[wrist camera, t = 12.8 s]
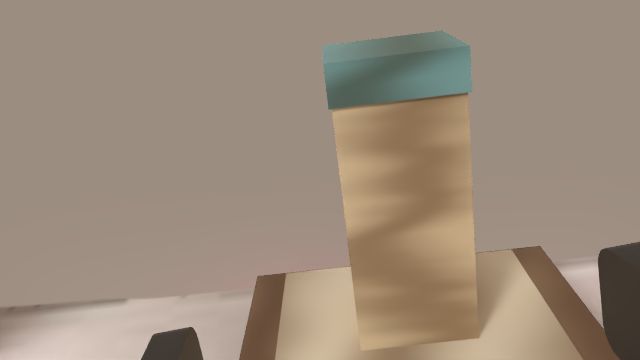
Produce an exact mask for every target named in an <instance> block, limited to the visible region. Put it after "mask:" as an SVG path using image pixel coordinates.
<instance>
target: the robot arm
mask: <svg viewBox="0 0 640 360" xmlns="http://www.w3.org/2000/svg"><path fill="white" fill-rule="evenodd" d="M598 268H599V280H600V291H601V303H602V315H603V325H604V330H605V334H606V337H607V340H608V342H609V344H610V346H611V348H612V350H613V351H614V353H615V354H616V355H617V356H618V358H620V359H621V360H640V242H637V243H631V244H626V245H621V246H616V247H610V248H605V249H603V250H601V251H600V254H599V257H598ZM141 360H203V356H202V352H201V349H200V345H199V341H198V337H197V334H196V332H195V330H194V329H193V328H192V327H188V328H183V329H178V330H173V331H168V332H162V333H157V334H154V335H153V336H152V338H151V340H150V342H149V344H148V346H147V348H146V350H145V352H144V354H143V357H142V359H141Z"/></svg>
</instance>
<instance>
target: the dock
mask: <svg viewBox="0 0 640 360" xmlns="http://www.w3.org/2000/svg"><path fill="white" fill-rule="evenodd" d="M475 259H476V282H477V305H478V328H479V338H477V339H467V340H458V341H448V342H439V343H429V344H420V345H411V346H401V347H392V348H382V349H373V350H363V351H361V348H360V340H359V331H358V323H357V315H356V306H355V298H354V290H353V281H352V273H351V266H348V267H339V268H329V269H320V270H312V271H302V272H292V273H283V274H274V275H264V276H258V277H257V281H256V286H255V290H254V295H253V299H252V304H251V308H250V313H249V317H248V322H247V326H246V331H245V336H244V340H243V345H242V349H241V354H240V358H239V360H621V359H620V358H618V356H617V355H616V354H615V353H614V351H613V350H612V348H611V346H610V344H609V342H608V340H607V337H606V334H605V331H604V329H603V328H602V327H601V325H600V324H599V323H598V322H597V320H596V319H595V318H594V316H593V315H592V314H591V312H590V311H589V310H588V308H587V307H586V306H585V304H584V303H583V302H582V301H581V299H580V298H579V297H578V295H577V294H576V293H575V291H574V290H573V289H572V287H571V286H570V285H569V283H568V282H567V281H566V280H565V278H564V277H563V276H562V274H561V273H560V272H559V270H558V269H557V268H556V266H555V265H554V264H553V262H552V261H551V260H550V259H549V257H548V256H547V255H546V253H545V252H544V251H543V250H542V248H541V247H540V246H537V247H526V248H517V249H508V250H499V251H490V252H479V253H475Z"/></svg>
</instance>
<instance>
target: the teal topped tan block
mask: <svg viewBox="0 0 640 360" xmlns="http://www.w3.org/2000/svg"><path fill="white" fill-rule="evenodd" d="M323 66H324V74H325V83H326V91H327V99H328V107H329V109H332V114H333V123H334V130H335V140H336V148H337V156H338V164H339V172H340V181H341V189H342V198H343V206H344V214H345V223H346V231H347V240H348V248H349V256H350V265H351V273H352V281H353V290H354V298H355V306H356V315H357V323H358V331H359V340H360V348H361V351H363V350H373V349H382V348H392V347H401V346H411V345H420V344H429V343H439V342H448V341H458V340H467V339H477V338H479V328H478V305H477V282H476V259H475V238H474V214H473V191H472V170H471V169H472V168H471V147H470V146H471V145H470V124H469V100H468V92H472V81H471V58H470V45H468V44H466V43H464V42H462V41H461V40H459V39H456V38H455V37H453V36H451V35H449V34H447V33H445V32H443V31H437V32H428V33H420V34H412V35H405V36H396V37H389V38H380V39H372V40H365V41H357V42H349V43H341V44H334V45H325V46H323Z"/></svg>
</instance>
